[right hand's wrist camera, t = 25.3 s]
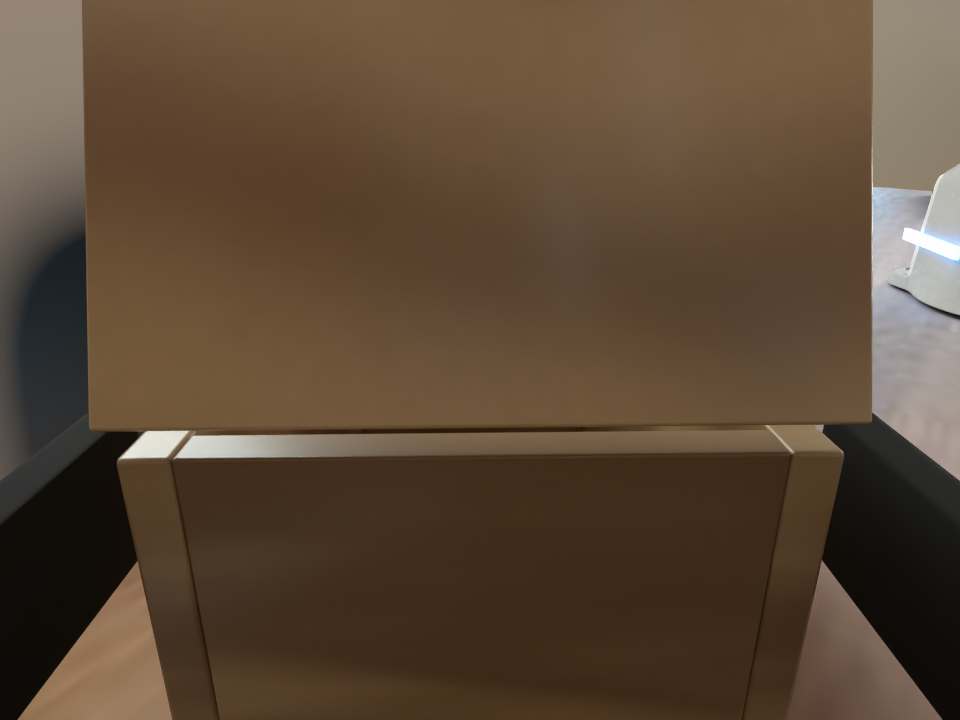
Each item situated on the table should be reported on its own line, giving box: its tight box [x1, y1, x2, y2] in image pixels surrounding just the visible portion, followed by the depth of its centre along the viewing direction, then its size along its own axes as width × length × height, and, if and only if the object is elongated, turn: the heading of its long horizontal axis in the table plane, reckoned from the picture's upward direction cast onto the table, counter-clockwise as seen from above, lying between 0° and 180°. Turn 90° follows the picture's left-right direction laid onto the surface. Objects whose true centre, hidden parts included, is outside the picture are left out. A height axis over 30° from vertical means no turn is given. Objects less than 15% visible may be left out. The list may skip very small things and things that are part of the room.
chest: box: [117, 425, 844, 720], centre depth 18 cm, size 16×10×9 cm, turn 1°
